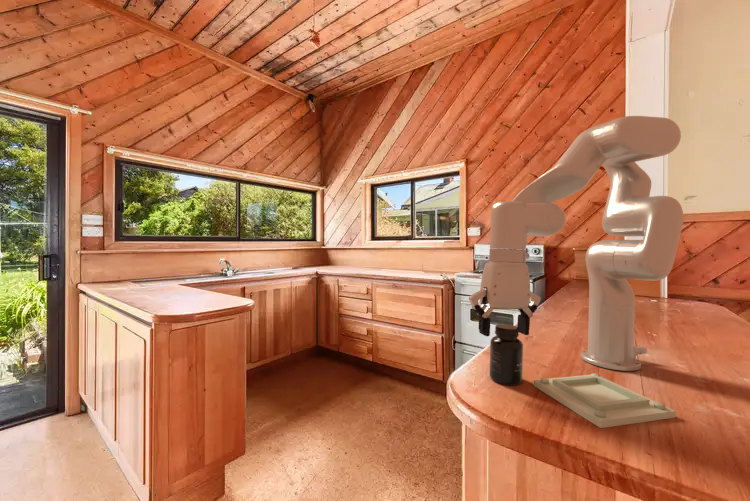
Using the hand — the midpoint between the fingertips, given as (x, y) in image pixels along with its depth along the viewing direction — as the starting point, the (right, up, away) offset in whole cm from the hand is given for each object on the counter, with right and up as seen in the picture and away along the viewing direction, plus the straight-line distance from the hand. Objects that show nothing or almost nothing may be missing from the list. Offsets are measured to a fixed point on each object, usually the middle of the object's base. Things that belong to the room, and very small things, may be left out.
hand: (503, 334), depth 71 cm
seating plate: (+15, -11, -9) cm, 20 cm away
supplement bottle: (+1, -11, +1) cm, 11 cm away
